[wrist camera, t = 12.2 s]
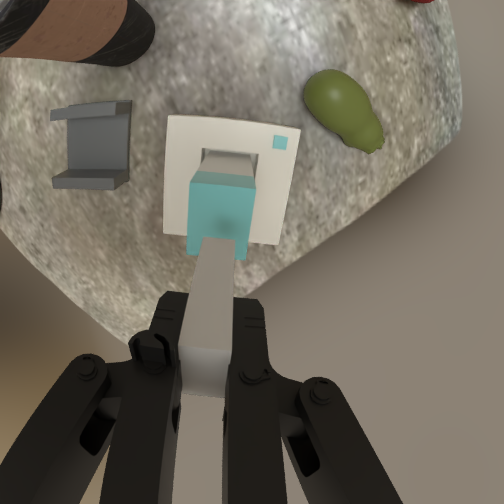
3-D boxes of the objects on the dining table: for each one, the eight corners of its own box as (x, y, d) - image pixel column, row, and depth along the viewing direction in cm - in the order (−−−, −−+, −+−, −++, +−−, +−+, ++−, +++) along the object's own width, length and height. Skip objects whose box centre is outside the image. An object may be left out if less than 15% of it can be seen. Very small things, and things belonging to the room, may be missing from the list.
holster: (71, 179, 27) (53, 190, 23) (71, 105, 22) (50, 108, 19) (128, 180, 28) (114, 192, 24) (132, 100, 23) (115, 100, 20)
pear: (346, 57, 18) (405, 135, 22) (321, 59, 22) (377, 124, 27) (303, 99, 20) (371, 172, 24) (285, 94, 24) (346, 156, 29)
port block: (170, 221, 30) (162, 235, 27) (176, 114, 25) (167, 115, 21) (274, 231, 32) (278, 247, 29) (294, 127, 26) (301, 130, 23)
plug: (205, 196, 29) (186, 254, 18) (210, 150, 26) (189, 182, 16) (243, 200, 29) (245, 260, 19) (249, 154, 27) (256, 189, 16)
